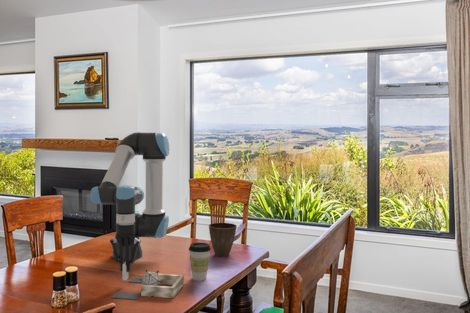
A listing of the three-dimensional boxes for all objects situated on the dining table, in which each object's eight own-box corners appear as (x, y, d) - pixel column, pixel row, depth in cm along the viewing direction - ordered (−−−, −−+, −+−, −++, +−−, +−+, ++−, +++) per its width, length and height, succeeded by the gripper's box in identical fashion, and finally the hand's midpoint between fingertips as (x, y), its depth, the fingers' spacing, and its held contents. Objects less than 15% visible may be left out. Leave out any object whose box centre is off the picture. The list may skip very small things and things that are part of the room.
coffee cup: (201, 283, 180) (202, 249, 179) (183, 279, 185) (184, 245, 185) (214, 277, 188) (215, 244, 188) (197, 273, 194) (197, 241, 193)
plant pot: (216, 249, 235) (216, 221, 234) (240, 253, 229) (241, 224, 228) (203, 256, 221) (203, 226, 221) (228, 260, 215) (229, 229, 214)
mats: (111, 298, 162) (111, 297, 162) (134, 277, 186) (134, 277, 186) (135, 299, 161) (135, 299, 161) (155, 279, 184) (155, 278, 184)
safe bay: (141, 295, 165) (141, 285, 165) (153, 282, 180) (153, 273, 180) (173, 298, 163) (173, 288, 163) (183, 284, 178) (183, 275, 178)
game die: (150, 301, 169) (148, 286, 162) (136, 289, 173) (133, 274, 167) (167, 286, 174) (165, 272, 168) (153, 275, 178) (151, 260, 172)
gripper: (106, 224, 171) (106, 281, 172) (137, 226, 169) (137, 283, 170) (114, 220, 178) (114, 275, 179) (143, 222, 176) (143, 277, 178)
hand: (125, 279), depth 175 cm, fingers closed
